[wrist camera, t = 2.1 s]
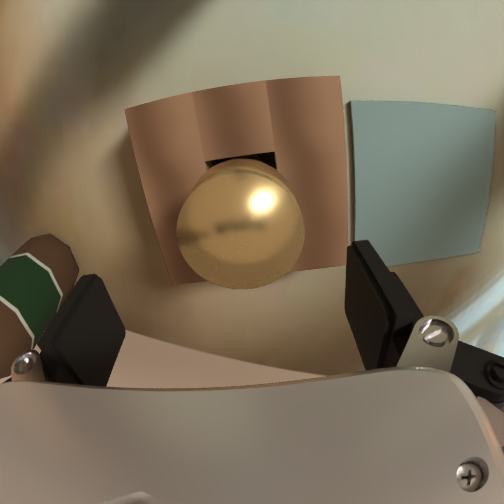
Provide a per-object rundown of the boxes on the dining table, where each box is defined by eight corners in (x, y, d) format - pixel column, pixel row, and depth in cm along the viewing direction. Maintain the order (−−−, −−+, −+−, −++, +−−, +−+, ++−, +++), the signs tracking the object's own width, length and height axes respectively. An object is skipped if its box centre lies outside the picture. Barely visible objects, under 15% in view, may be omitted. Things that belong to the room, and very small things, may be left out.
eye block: (323, 78, 21) (339, 75, 16) (333, 235, 28) (347, 264, 23) (148, 104, 22) (124, 109, 17) (183, 253, 29) (172, 284, 24)
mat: (492, 110, 20) (495, 111, 20) (476, 250, 28) (478, 252, 28) (349, 101, 22) (351, 101, 21) (352, 269, 29) (353, 271, 29)
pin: (278, 129, 23) (299, 166, 13) (286, 199, 26) (307, 282, 16) (204, 140, 23) (162, 185, 13) (217, 207, 26) (192, 294, 16)
